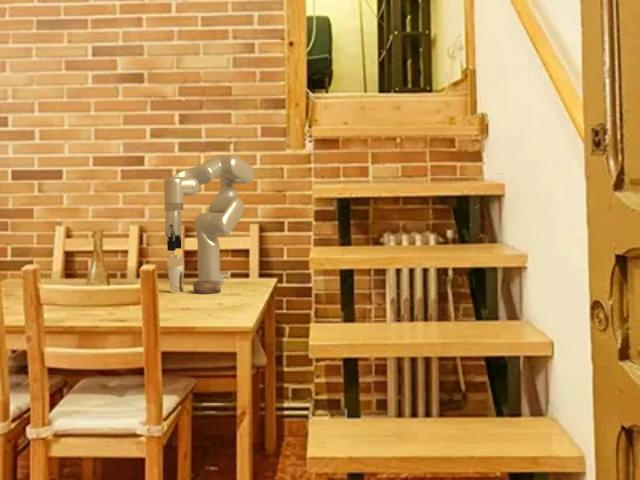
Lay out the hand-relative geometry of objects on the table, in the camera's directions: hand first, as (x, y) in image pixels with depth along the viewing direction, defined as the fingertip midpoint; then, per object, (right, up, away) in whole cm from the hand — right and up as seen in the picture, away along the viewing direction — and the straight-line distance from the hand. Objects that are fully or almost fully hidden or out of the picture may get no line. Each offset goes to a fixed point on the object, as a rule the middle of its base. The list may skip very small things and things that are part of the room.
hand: (174, 249), depth 292 cm
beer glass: (0, -18, +2) cm, 18 cm away
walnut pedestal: (+13, -18, +1) cm, 22 cm away
